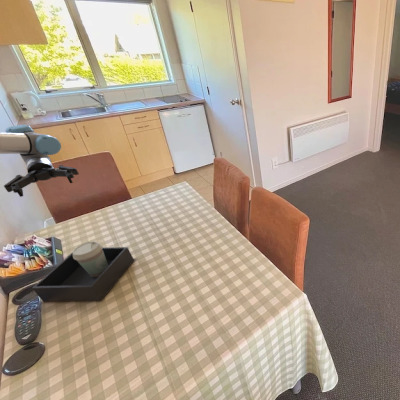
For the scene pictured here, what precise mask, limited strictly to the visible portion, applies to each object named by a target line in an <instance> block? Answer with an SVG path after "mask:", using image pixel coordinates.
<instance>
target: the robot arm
mask: <svg viewBox="0 0 400 400" xmlns="http://www.w3.org/2000/svg"><path fill="white" fill-rule="evenodd" d="M61 149H62V144H61V142H60V140H59V139H58V138H57V137H55V136H52V135H49V134H43V133H38V132H35V130H33V127H31V126H30V125H29V124H17V125H13V126H8V127H6V128H5V132H0V155H19V156H20V157H21V159H22V160H23V162H24V164H25V165H26V170H27V173H26V175H21V174H17V175H15V177H13V178H12V179H11V180H10V181H8V182H7V183H5V184H4V185H3V188H4V189H5V191H6V192H7V193H11V192H13V193H14V194H18V197H20V198H22V197H24V190H23V189H24V188H26V187H28V186H29V185H31V184H35V183H37V182H39V181H40V182H41V181H42V182H43V181H48V180H51V179H52V178H53V179H54V178H58V177H59V178H60V177H62V178H63V177H64V178H67V180H68V182H69V183H70V184H73V183H74V182H73V180H72V179H74V178H75V176H78V175H79V174H80V173H79V171H78V169H77V167H71V166H65V165H63V164H60V165H58V167H56V168H55V167H54V166H53V163H52V159H51V158H50V156H53V155H54V156H55V155H57V154H58V153H59V152H60V151H61Z"/></svg>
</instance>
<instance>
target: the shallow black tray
mask: <svg viewBox="0 0 400 400" xmlns="http://www.w3.org/2000/svg"><path fill="white" fill-rule="evenodd" d="M102 250H103V252H104V255H105V258H106V260H107V263H108V267H107V268H106V269H105V270H104V271H103V272H102V273H101V275H100V276H99V277H92V276H91V275H90V274H89V273H88V272H87V271H86V270H85V269H84V268H83V267H82V266H81V265H80V264H79V262H78V261H77V260H75V259H74V258H73V253H72V252H71V253H70V254H68V256H67V257H65V258H64V259H63V260H62V261H61V262H59V264H57V266H55V267H54V268H53V269H52V270H51V271H49V272H48V273H47V274H46V275H45V276H44V277H43V278H42V279H40V280H39V281H38V282H37V283H36V284H35V285H34V286H33V287H31V289H32V290H33V291H34V292H35V293H36V295H37V296H38V297H39V298H40V300H41V301H42V302H43V303H55V302H56V303H57V302H58V303H59V302H61V303H62V302H97V301H98V302H101V301H102V300H103V299H104V298H105V296H106V295H107V294H108V293H109V292H110V291H111V289H112V288H113V287H114V286H115V284H116V283H117V282H118V281H119V279H120V278H121V277H122V275H124V273H126V271H127V270H128V269H129V267H130V266H131V265H132V264H133V262H135V259H134V257H133V254H132V253H131V252H130V249H129V247H128V246H119V247H118V246H115V247H114V246H112V247H102Z"/></svg>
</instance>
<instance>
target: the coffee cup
mask: <svg viewBox="0 0 400 400" xmlns="http://www.w3.org/2000/svg"><path fill="white" fill-rule="evenodd" d="M102 248H103V245H102V244H101V243H99V241H95V240H91V241H86V242H83V243H81V244H79V245H77V246H76V247H74V248H73V250H72V252H71V253H73V258H74V259H75V260H77V261H78V262H79V264H80V265H81V266H82V267H83V268H84V269H85V270H86V271H87V272H88V273H89V274H90V275H91V276H92V277H99V276H100V275H101V273H102V272H103V271H104V270H105V269H106V268H107V267H108V263H107V260H106V258H105V255H104V252H103V250H102Z"/></svg>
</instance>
